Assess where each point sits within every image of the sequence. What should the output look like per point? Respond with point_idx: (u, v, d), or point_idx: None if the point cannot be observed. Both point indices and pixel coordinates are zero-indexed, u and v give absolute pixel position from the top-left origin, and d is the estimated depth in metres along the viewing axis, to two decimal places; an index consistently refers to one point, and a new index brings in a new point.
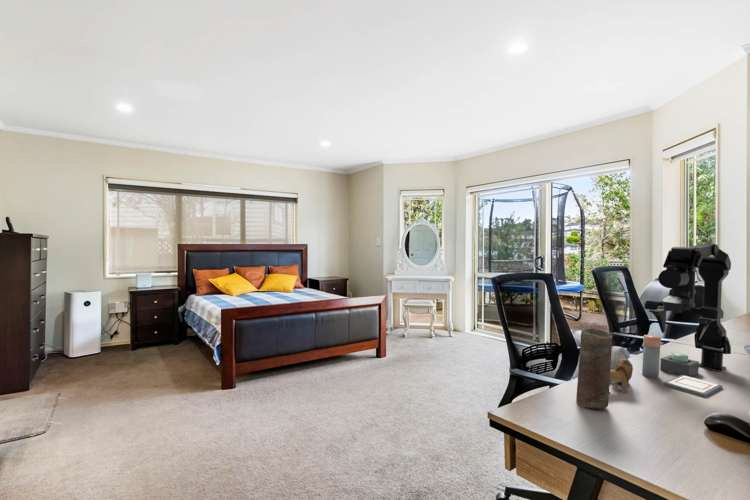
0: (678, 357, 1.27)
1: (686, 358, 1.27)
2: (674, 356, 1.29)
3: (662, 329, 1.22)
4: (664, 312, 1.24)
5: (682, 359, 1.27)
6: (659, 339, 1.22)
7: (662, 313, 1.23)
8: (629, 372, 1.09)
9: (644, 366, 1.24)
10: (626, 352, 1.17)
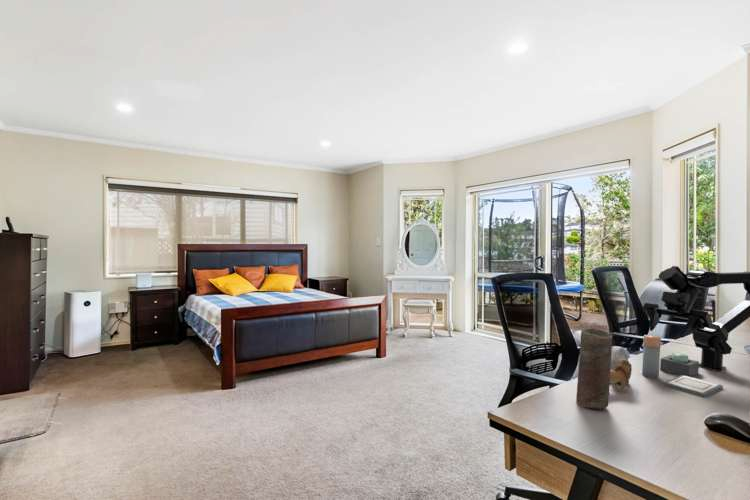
0: (678, 357, 1.27)
1: (686, 358, 1.27)
2: (674, 356, 1.29)
3: (651, 326, 1.32)
4: (658, 318, 1.34)
5: (682, 359, 1.27)
6: (659, 339, 1.22)
7: (656, 316, 1.34)
8: (628, 372, 1.09)
9: (644, 366, 1.24)
10: (626, 352, 1.17)
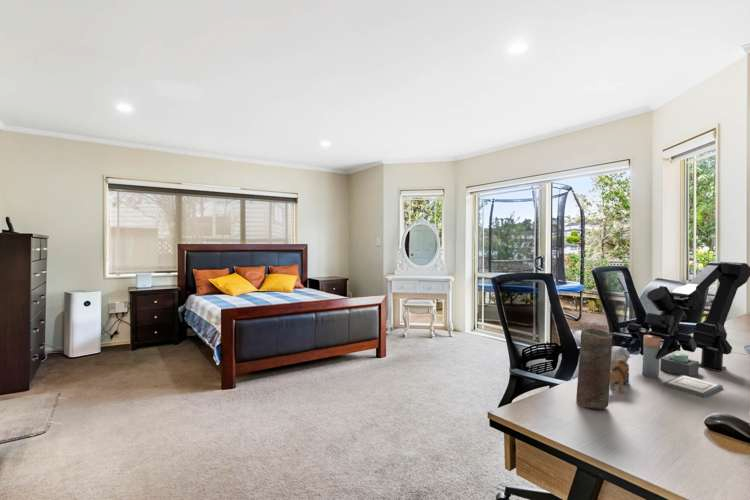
0: (678, 357, 1.27)
1: (686, 358, 1.27)
2: (674, 356, 1.29)
3: (641, 350, 1.26)
4: None
5: (682, 359, 1.27)
6: (659, 339, 1.22)
7: None
8: (625, 372, 1.09)
9: (644, 366, 1.24)
10: (626, 352, 1.17)
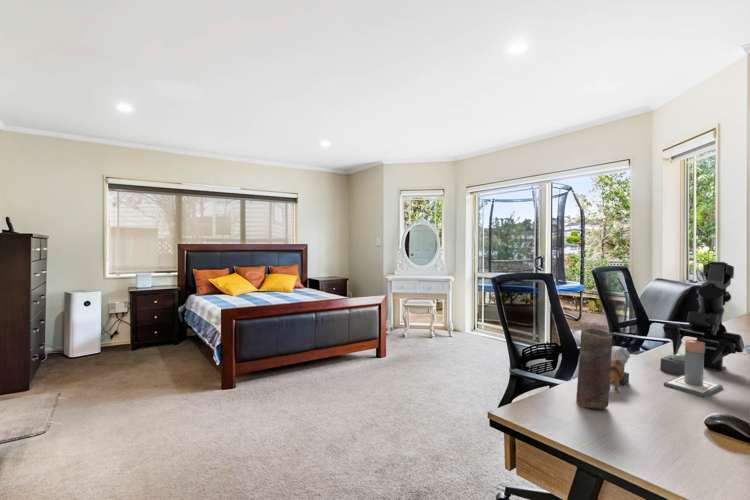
0: (678, 357, 1.27)
1: None
2: (674, 356, 1.29)
3: (675, 349, 1.18)
4: (680, 340, 1.22)
5: (682, 359, 1.27)
6: (704, 344, 1.13)
7: (679, 337, 1.21)
8: (621, 372, 1.09)
9: (687, 373, 1.15)
10: (626, 352, 1.17)
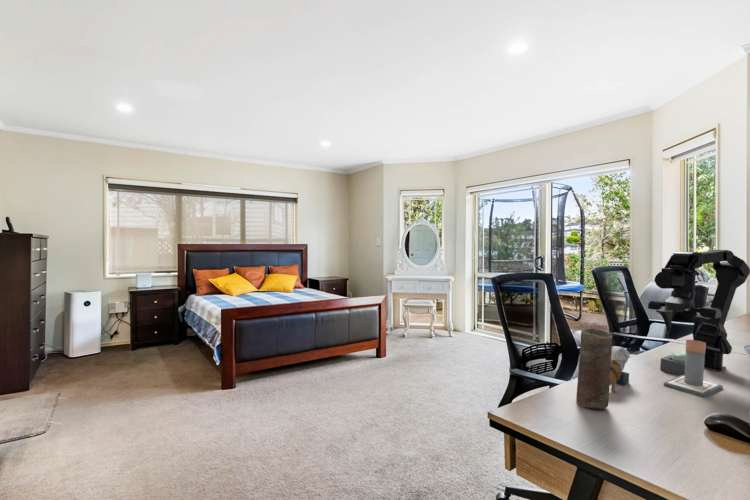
0: (678, 357, 1.27)
1: None
2: (674, 356, 1.29)
3: (668, 328, 1.31)
4: (670, 312, 1.33)
5: (682, 359, 1.27)
6: (704, 344, 1.13)
7: (668, 313, 1.32)
8: (618, 372, 1.09)
9: (687, 373, 1.15)
10: (626, 352, 1.17)
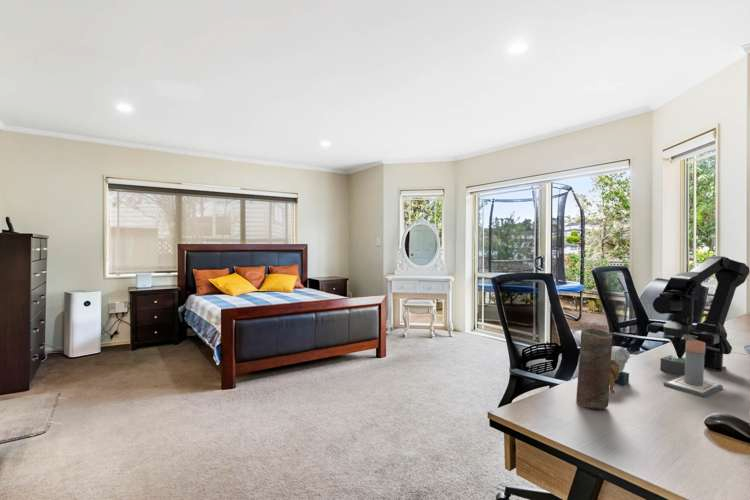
0: (678, 360, 1.28)
1: None
2: (674, 359, 1.29)
3: (678, 354, 1.29)
4: (680, 338, 1.30)
5: (682, 362, 1.27)
6: (704, 344, 1.13)
7: (678, 339, 1.29)
8: (616, 372, 1.09)
9: (687, 373, 1.15)
10: (626, 352, 1.17)
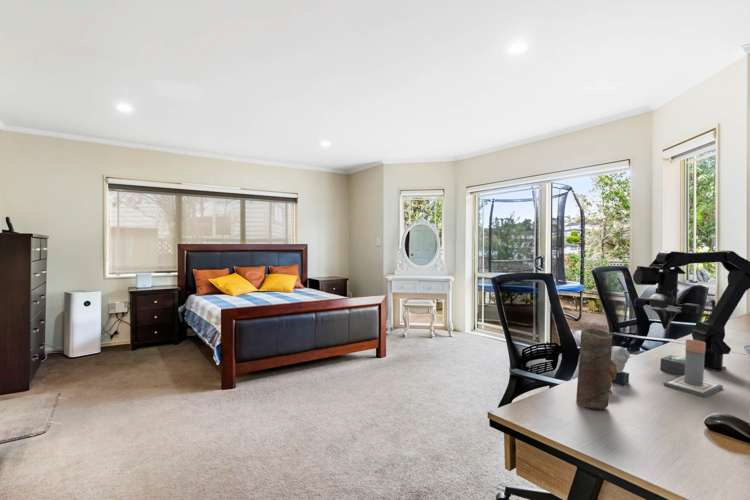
0: (678, 361, 1.28)
1: None
2: (674, 360, 1.29)
3: (664, 325, 1.36)
4: (665, 310, 1.37)
5: None
6: (704, 344, 1.13)
7: (663, 311, 1.36)
8: (614, 372, 1.09)
9: (687, 373, 1.15)
10: (626, 352, 1.17)
